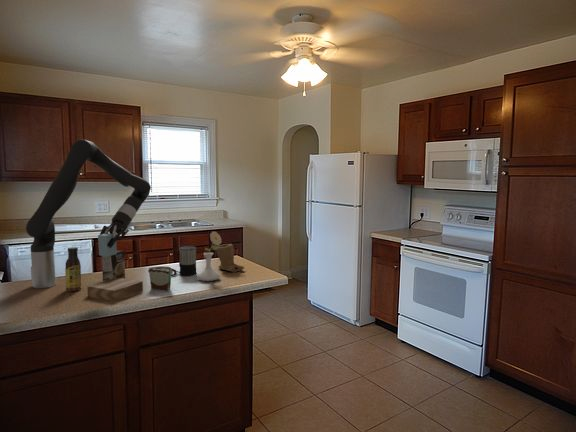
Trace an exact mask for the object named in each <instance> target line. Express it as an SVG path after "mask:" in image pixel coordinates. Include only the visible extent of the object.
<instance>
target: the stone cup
mask: <svg viewBox="0 0 576 432" xmlns="http://www.w3.org/2000/svg"><path fill="white" fill-rule="evenodd" d="M216 246H217V247H218V249H217V250H215V251H216V255H217V256H218V260H219V262H220V264H219V265H218V266H217V267H218V269H220V270H223V271H228V272H232V273H237V271H238V272H240V271H243V270H244V269H245V267H244V266H243V265H239V264H236V263H235V262H234V259H235V248H234V245H233V244H232V243H224V244H220V245H216Z"/></svg>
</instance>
